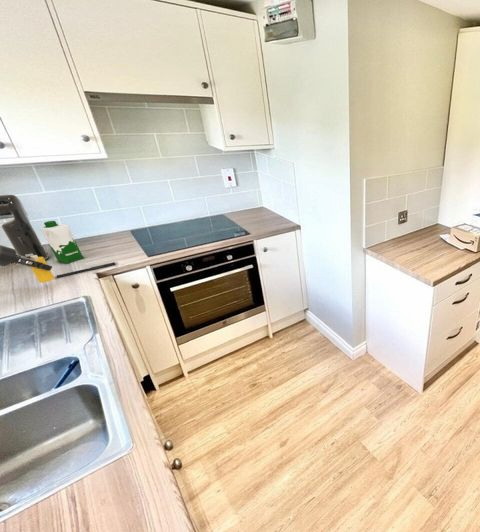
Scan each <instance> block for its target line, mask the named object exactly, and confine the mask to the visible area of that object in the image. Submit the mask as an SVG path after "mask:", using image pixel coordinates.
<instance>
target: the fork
mask: <svg viewBox="0 0 480 532" xmlns="http://www.w3.org/2000/svg"><path fill="white" fill-rule="evenodd" d="M113 266H116V263H115V261H114V262H109V263H105V264H100V265H96V266H91V267H89V268H84V269H80V270H75V271H70V272H66V273H62V274H57V275H56V278H58V279H59V278H64V277H69V276H72V275H76V274H81V273H85V272H90V271H96V270H99V269H103V268H108V267H113Z"/></svg>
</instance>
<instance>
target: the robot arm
mask: <svg viewBox="0 0 480 532" xmlns="http://www.w3.org/2000/svg"><path fill="white" fill-rule="evenodd" d="M4 216H13V219H10V220H9V221H6V222H4V223H2V224H1V229H2V230H3V232H4V233H5V235H6V237H7V239H8V240H9V242H10V244H11V245H12V247H13V248H12V247H9V246H5V245H1V244H0V267H6V266H9V265H10V264H12V265H15V266H22V267H25V268H31V267H35V268H37V269H44V270H48V271H51V270H52V269H53V266H52V265H49V264H47V265H46V264H43V263H41V262H36V261H35V260H33V259H31V257H30V256H33V255H37V256H38V257H43V258H44V259H45V261H46V260H48V259H49V255H48V254H47V251H46V250H45V248H44V246H43V244H42V242H41V241H40V238H39V237H38V235H37V232H36V231H35V229H34V227H33V226H32V224H31V220H30V219H29V217H28V216H29V215H27V211H26V210H25V207H24V206H23V203H22V202H21V200H20V199H19V197H18V196H17V195H15V194H1V195H0V217H4ZM37 263H38V264H37ZM36 265H37V266H36Z"/></svg>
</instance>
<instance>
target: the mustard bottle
mask: <svg viewBox="0 0 480 532" xmlns="http://www.w3.org/2000/svg"><path fill="white" fill-rule="evenodd" d="M30 257H31V259H33V260H35V261H36V262H41V263H43V264H46V265H48V263H47V261H46V260H45V259H44V258H43V257H38V256H37V255H33V256H30ZM37 264H38V263H37ZM36 266H37V265H36ZM30 269H31V270H32V272H33V275H34V276H35V278H36V280H37V281H38V283H49V282H51V281H53V280H54V279H55V276H54V274H53V273H52V271H51V270H50V271H48V270H44V269H37V268H35V267H30Z"/></svg>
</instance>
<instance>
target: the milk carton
mask: <svg viewBox="0 0 480 532" xmlns="http://www.w3.org/2000/svg"><path fill="white" fill-rule="evenodd" d="M43 225H44V226H43V227H39V230H40V231H41V233H42V234H43V236H44V238H45V239H46V242H47V243H48V245H49V247H50V249H51V252H52V253H53V255H54V257H55V258H56V260H57V262H60V263H63V264H64V263H65V264H70V263H73V262H76V261H80V260H81V259H84V256H83V254H82V251H81V250H80V247H79V246H78V244H77V242H76V239H75V237H74V235H73V234H72V233H73V232H72V231H71V228H70V225H68V224H65V223H57V221H56V220H48V221H45V222H43Z"/></svg>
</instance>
